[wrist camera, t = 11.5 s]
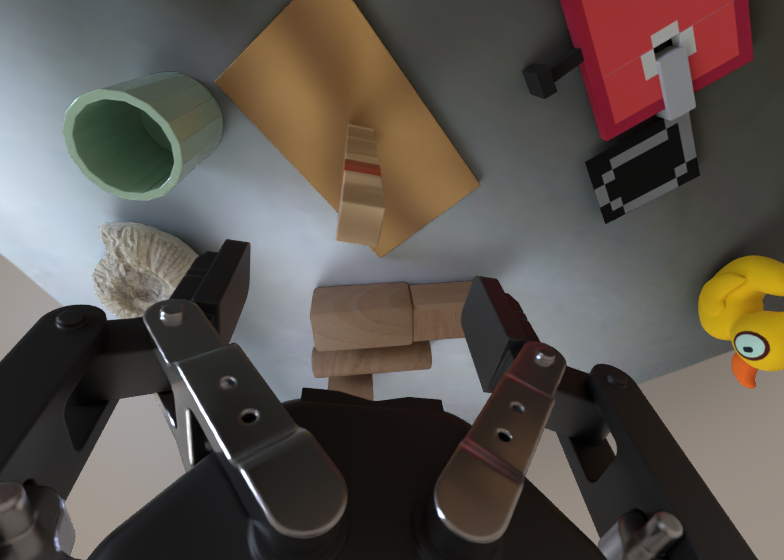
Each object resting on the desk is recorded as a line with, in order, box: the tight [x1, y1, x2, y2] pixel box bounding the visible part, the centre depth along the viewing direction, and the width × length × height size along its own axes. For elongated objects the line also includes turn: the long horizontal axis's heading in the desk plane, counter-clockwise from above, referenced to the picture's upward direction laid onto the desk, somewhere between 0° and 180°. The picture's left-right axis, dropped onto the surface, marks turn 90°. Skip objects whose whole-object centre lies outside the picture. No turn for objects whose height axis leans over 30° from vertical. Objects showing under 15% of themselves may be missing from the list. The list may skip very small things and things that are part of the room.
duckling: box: [698, 255, 784, 388], centre depth 40 cm, size 11×5×10 cm, turn 174°
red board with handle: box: [522, 0, 753, 224], centre depth 28 cm, size 30×3×15 cm
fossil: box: [92, 221, 199, 319], centre depth 36 cm, size 11×4×10 cm
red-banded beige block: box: [336, 124, 386, 247], centre depth 26 cm, size 2×2×16 cm
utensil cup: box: [63, 72, 224, 201], centre depth 27 cm, size 6×6×9 cm
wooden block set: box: [310, 281, 473, 401], centre depth 42 cm, size 17×6×18 cm
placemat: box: [215, 0, 480, 258], centre depth 33 cm, size 11×19×1 cm, turn 38°
